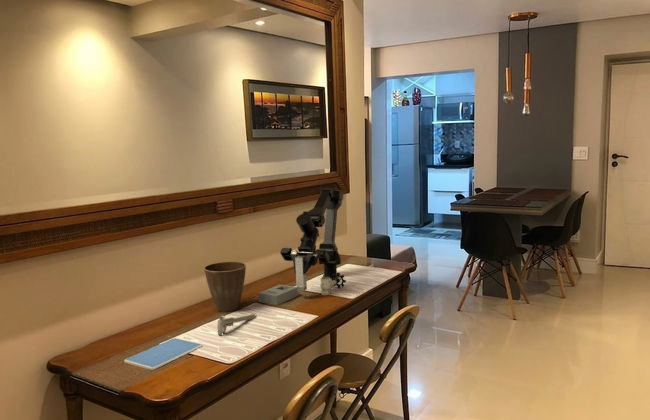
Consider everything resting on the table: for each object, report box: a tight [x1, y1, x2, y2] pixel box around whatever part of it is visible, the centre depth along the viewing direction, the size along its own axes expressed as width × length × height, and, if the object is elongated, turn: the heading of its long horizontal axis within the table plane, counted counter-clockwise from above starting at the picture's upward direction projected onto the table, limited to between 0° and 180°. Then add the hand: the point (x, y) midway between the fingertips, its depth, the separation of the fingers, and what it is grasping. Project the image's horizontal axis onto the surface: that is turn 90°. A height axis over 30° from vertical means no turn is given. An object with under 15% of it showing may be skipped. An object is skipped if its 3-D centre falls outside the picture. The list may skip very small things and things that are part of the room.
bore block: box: [257, 284, 299, 306], centre depth 205 cm, size 13×9×4 cm
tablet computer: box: [123, 337, 203, 371], centre depth 155 cm, size 19×13×1 cm, turn 149°
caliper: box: [217, 313, 257, 336], centre depth 177 cm, size 20×1×6 cm, turn 153°
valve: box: [319, 271, 347, 296], centre depth 212 cm, size 7×7×12 cm
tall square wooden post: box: [295, 256, 308, 292], centre depth 203 cm, size 3×3×13 cm
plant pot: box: [203, 261, 247, 313], centre depth 194 cm, size 15×15×16 cm
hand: (299, 274), depth 202 cm, fingers closed on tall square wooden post, 3 cm apart
